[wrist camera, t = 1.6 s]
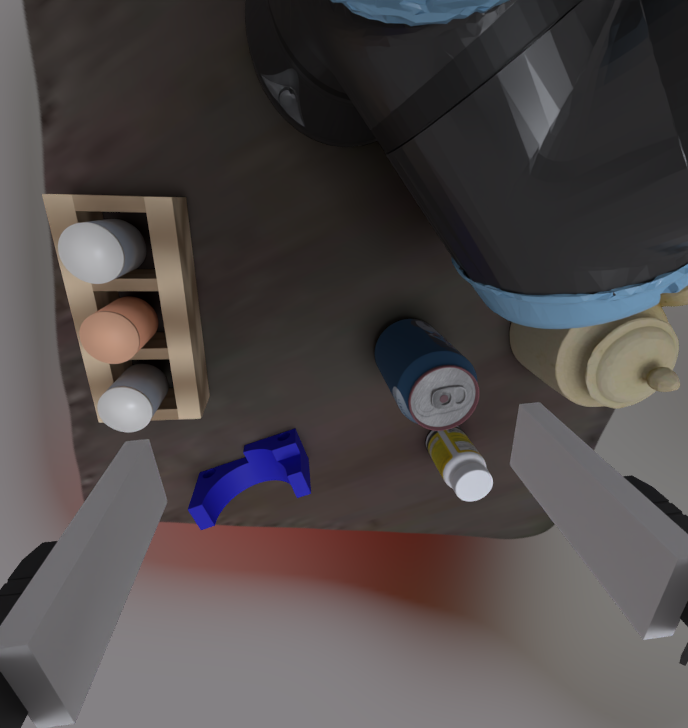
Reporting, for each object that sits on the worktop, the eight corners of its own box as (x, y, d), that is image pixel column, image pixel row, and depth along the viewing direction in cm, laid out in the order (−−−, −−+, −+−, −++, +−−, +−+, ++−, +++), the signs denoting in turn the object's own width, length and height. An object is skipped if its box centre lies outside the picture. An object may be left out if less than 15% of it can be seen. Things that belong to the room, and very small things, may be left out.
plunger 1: (85, 218, 30) (50, 221, 25) (141, 219, 30) (116, 223, 26) (97, 271, 31) (66, 283, 27) (150, 271, 32) (128, 283, 28)
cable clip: (295, 427, 44) (296, 460, 39) (308, 458, 46) (310, 493, 41) (194, 461, 44) (180, 498, 39) (211, 490, 46) (201, 530, 41)
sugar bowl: (534, 231, 39) (668, 251, 25) (632, 242, 41) (806, 266, 27) (496, 369, 45) (588, 447, 31) (583, 374, 46) (707, 449, 33)
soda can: (374, 380, 43) (403, 443, 32) (369, 319, 40) (400, 366, 29) (436, 371, 44) (485, 430, 33) (435, 311, 41) (489, 353, 30)
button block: (73, 194, 33) (41, 193, 29) (186, 197, 34) (171, 197, 30) (118, 399, 40) (98, 422, 36) (209, 396, 41) (201, 418, 37)
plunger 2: (117, 364, 34) (92, 388, 30) (165, 363, 35) (147, 386, 31) (125, 404, 36) (103, 433, 32) (171, 402, 37) (155, 431, 32)
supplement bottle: (433, 461, 49) (460, 512, 41) (418, 434, 47) (444, 481, 39) (468, 444, 48) (502, 491, 40) (455, 415, 46) (488, 459, 39)
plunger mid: (102, 296, 32) (73, 312, 28) (154, 296, 33) (133, 311, 28) (112, 342, 34) (86, 364, 29) (161, 341, 34) (143, 363, 30)
